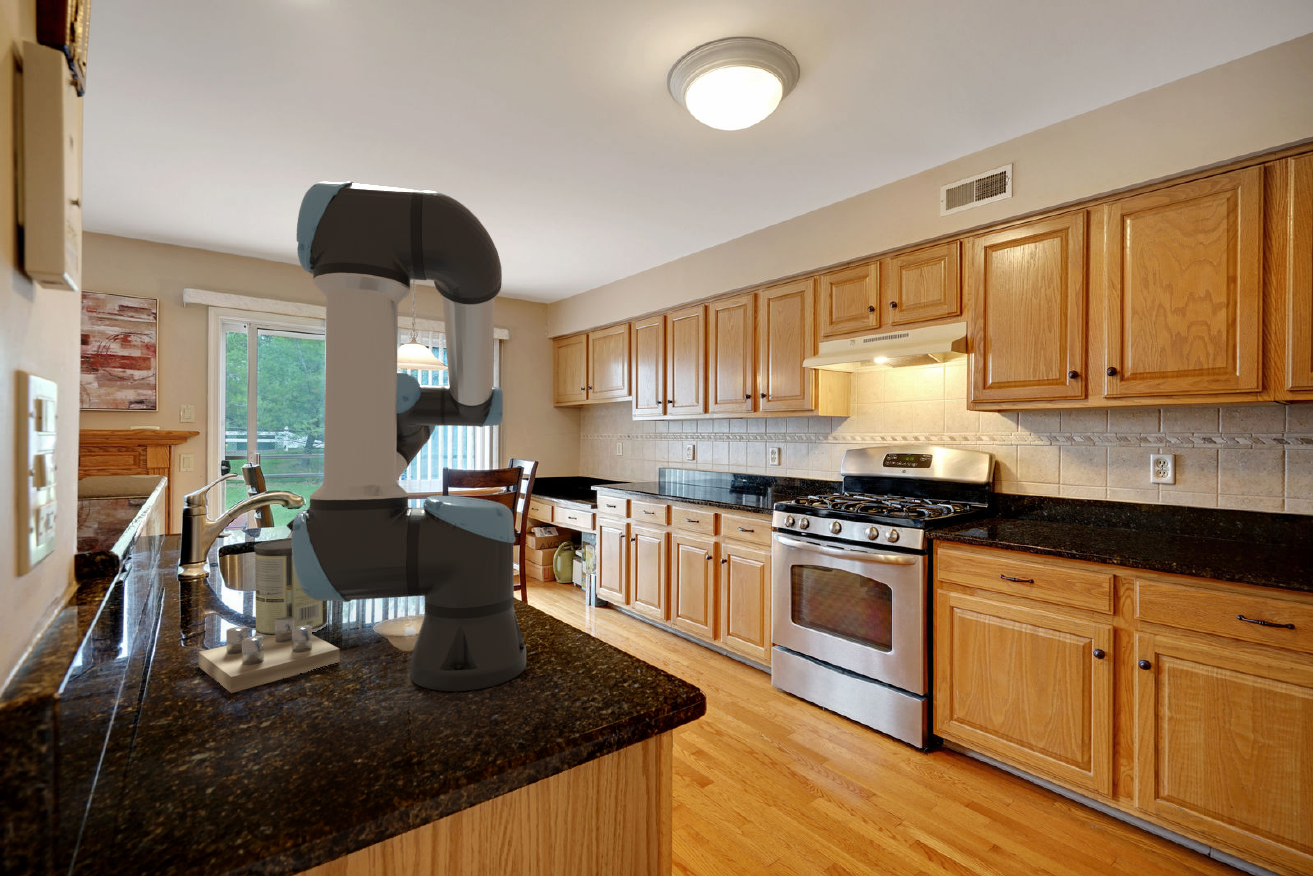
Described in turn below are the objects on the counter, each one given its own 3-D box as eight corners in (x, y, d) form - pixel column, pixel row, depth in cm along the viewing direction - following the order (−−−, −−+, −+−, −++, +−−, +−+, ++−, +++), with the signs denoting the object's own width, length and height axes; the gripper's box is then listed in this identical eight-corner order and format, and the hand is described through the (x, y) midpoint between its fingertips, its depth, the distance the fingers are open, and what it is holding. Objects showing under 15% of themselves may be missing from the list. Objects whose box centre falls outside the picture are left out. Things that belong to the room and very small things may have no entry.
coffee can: (284, 618, 107) (284, 536, 107) (341, 620, 106) (341, 537, 106) (238, 638, 97) (237, 547, 97) (300, 641, 96) (300, 549, 95)
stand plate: (339, 663, 87) (339, 648, 87) (231, 693, 77) (231, 676, 77) (301, 642, 95) (301, 628, 95) (198, 666, 85) (198, 652, 85)
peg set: (315, 649, 87) (315, 627, 87) (245, 666, 80) (245, 643, 80) (290, 636, 92) (290, 615, 92) (224, 651, 86) (223, 629, 86)
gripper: (437, 490, 114) (368, 592, 101) (342, 483, 124) (268, 575, 111) (415, 463, 109) (339, 566, 96) (317, 458, 120) (237, 551, 106)
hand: (300, 571), depth 103 cm, fingers open, 13 cm apart
